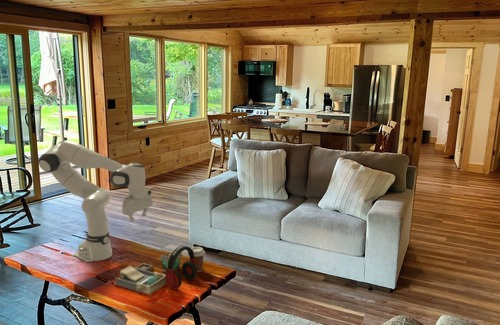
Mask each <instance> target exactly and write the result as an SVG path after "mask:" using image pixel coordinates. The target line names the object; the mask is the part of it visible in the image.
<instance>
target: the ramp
mask: <svg viewBox="0 0 500 325" xmlns="http://www.w3.org/2000/svg"><path fill="white" fill-rule="evenodd" d="M125 277H128V278H129V279H131V280H132V281H134V282H136V281H137V280H139V279H141V278H142V277H144V274H142V273H141V272H139V271H138V270H136V269H135V267H133V266H132V265H128V266H127V267H125V268H123V269H121V270H120V271H119V278H122V279H124V278H125Z"/></svg>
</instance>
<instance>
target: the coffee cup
mask: <svg viewBox="0 0 500 325" xmlns="http://www.w3.org/2000/svg"><path fill="white" fill-rule="evenodd" d="M190 248H191V249H192V250H193V252H194V258H195V265H196V267H197V273H201V272H202V271H203V269H204V268H203V267H204V266H203V263H204V255H205V254H206V251H205V250H204V249H203V247H200V246H193V247H190Z"/></svg>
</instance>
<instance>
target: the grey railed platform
mask: <svg viewBox="0 0 500 325" xmlns="http://www.w3.org/2000/svg"><path fill="white" fill-rule="evenodd" d="M134 268H135V267H134ZM135 269H136V270H138V271H139V272H141V273H142V274H144V277H142V278H141V279H139V280H137V281H136V282H134V281H132V280H131V279H129V278H128V277H125V278H124V279H122V278H120V277H114V284H115V286H120V287H122V288H125V289H130V290H131V291H132V290H133V291H135V292H138V291H137V283H140V284H144V285H146V284H147V280H148V278H150V277H152V276H154V271H153V272H152V271H146V270H142V269H138V268H135Z"/></svg>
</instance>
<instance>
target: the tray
mask: <svg viewBox="0 0 500 325" xmlns="http://www.w3.org/2000/svg"><path fill="white" fill-rule="evenodd" d="M153 273H154V277H156V278H157V281H156V282H155V283H153V284H152V285H150V286H149V285H148V284H146V285H144V284H140V283H137V291H136V292H139V293H143V294H144V295H145V294H146V295H149V296H150V295H152V294H153V293H155V292H156V291H157V290H159V289H160V288H162V287H163V286H165V285H167V283H166V280H165V275H166V274H165V273H164V274H163V273H161V272H157V271H153Z"/></svg>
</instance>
